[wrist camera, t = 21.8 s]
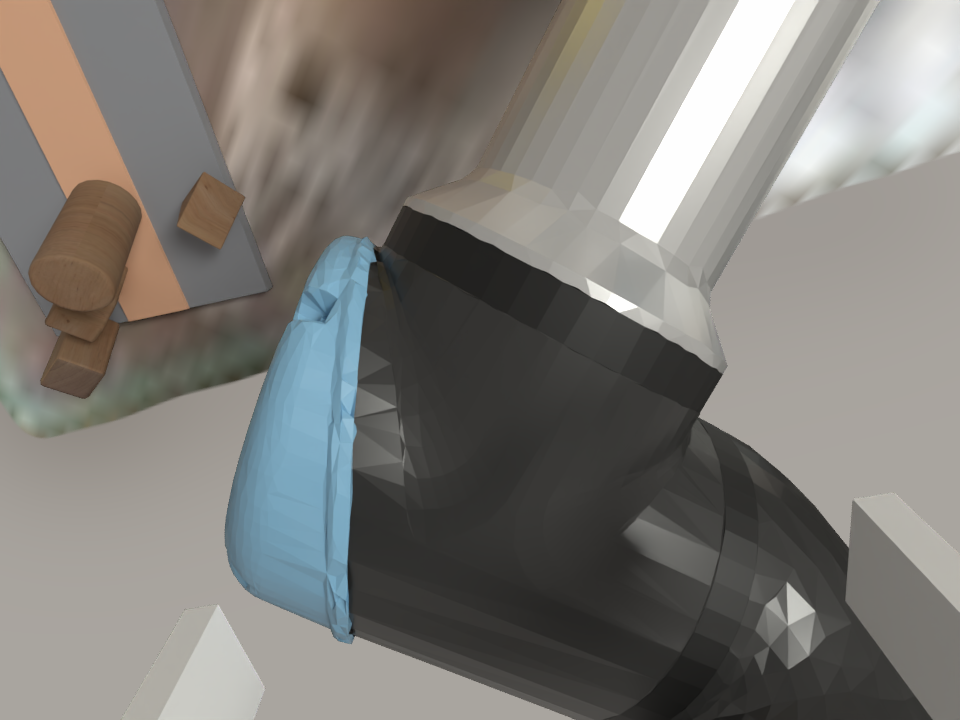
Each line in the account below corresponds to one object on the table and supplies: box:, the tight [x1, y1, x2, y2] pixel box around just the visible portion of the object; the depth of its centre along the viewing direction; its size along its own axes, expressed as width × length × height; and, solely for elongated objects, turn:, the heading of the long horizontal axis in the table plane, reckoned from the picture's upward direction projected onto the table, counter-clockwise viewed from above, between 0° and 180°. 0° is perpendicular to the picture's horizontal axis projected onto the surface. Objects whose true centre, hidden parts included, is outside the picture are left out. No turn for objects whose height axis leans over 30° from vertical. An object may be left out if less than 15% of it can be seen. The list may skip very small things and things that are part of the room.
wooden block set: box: [28, 172, 245, 399], centre depth 39 cm, size 18×9×10 cm, turn 137°
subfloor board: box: [0, 0, 273, 336], centre depth 40 cm, size 18×24×2 cm
